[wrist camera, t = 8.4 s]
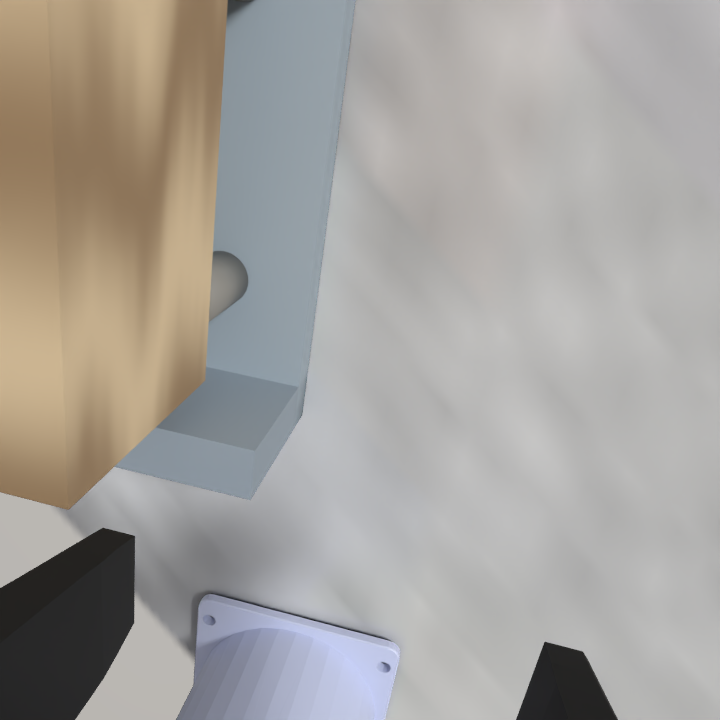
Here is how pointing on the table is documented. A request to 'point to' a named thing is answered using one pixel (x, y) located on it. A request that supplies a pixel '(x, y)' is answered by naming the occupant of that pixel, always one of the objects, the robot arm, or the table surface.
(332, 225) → the table surface
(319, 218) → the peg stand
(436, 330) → the table surface
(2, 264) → the oak plank
